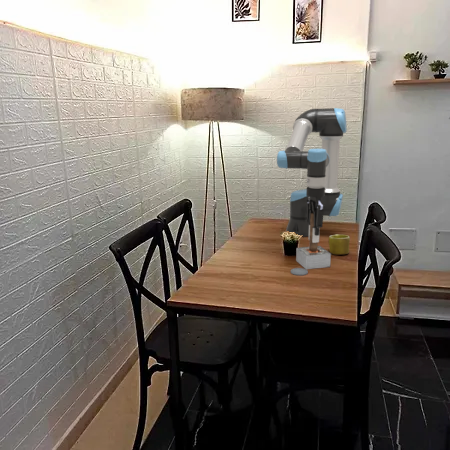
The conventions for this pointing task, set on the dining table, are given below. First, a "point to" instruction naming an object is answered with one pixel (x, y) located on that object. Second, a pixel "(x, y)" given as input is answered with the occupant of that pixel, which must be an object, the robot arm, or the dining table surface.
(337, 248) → the mug
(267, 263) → the dining table surface
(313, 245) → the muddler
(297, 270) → the coaster
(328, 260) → the grey square block
